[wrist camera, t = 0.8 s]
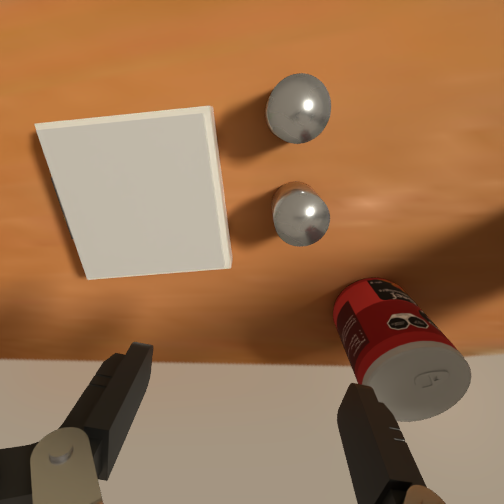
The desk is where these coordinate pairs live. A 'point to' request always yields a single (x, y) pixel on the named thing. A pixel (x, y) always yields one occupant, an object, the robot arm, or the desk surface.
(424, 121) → the desk surface
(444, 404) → the canned food
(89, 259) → the scale
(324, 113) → the disc
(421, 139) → the desk surface
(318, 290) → the desk surface
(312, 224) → the cylinder
